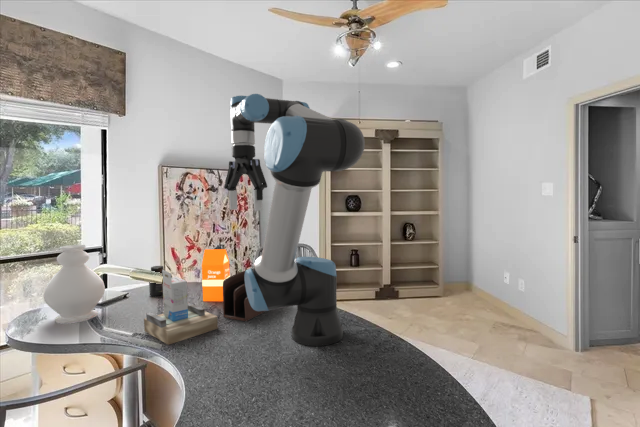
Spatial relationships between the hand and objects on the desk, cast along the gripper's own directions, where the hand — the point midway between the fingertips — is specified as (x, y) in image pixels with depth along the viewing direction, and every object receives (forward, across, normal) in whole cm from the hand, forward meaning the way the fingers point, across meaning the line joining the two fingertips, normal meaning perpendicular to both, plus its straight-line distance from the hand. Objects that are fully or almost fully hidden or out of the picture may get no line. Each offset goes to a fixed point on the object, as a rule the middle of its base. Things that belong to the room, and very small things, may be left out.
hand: (245, 210), depth 123 cm
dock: (+37, +8, +20) cm, 43 cm away
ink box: (+33, +9, +21) cm, 40 cm away
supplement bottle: (+37, +53, +7) cm, 65 cm away
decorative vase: (+37, +48, +38) cm, 71 cm away
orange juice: (+37, +29, -6) cm, 47 cm away
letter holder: (+37, +6, -6) cm, 38 cm away
